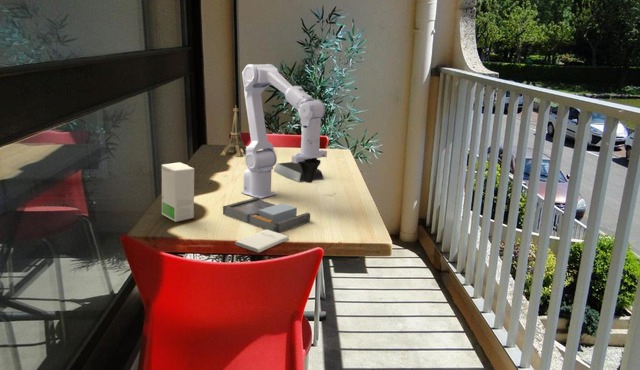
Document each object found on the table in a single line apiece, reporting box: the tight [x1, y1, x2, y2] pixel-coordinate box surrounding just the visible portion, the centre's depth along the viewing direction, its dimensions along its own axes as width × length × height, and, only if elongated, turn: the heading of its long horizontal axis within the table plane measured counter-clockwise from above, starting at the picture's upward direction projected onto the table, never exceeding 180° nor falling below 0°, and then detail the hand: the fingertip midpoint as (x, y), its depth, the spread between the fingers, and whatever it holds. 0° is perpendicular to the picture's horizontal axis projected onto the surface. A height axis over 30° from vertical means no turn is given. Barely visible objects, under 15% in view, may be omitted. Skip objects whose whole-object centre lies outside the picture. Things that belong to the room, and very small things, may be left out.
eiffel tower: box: [219, 106, 247, 158], centre depth 242 cm, size 11×11×25 cm
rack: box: [222, 197, 311, 233], centre depth 162 cm, size 23×14×3 cm, turn 51°
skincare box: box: [161, 161, 195, 223], centre depth 158 cm, size 8×7×16 cm
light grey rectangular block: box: [259, 203, 298, 223], centre depth 160 cm, size 6×10×4 cm, turn 139°
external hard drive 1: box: [234, 229, 289, 253], centre depth 143 cm, size 2×8×12 cm
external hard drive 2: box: [273, 162, 324, 183], centre depth 214 cm, size 13×19×4 cm
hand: (308, 182), depth 169 cm, fingers closed
